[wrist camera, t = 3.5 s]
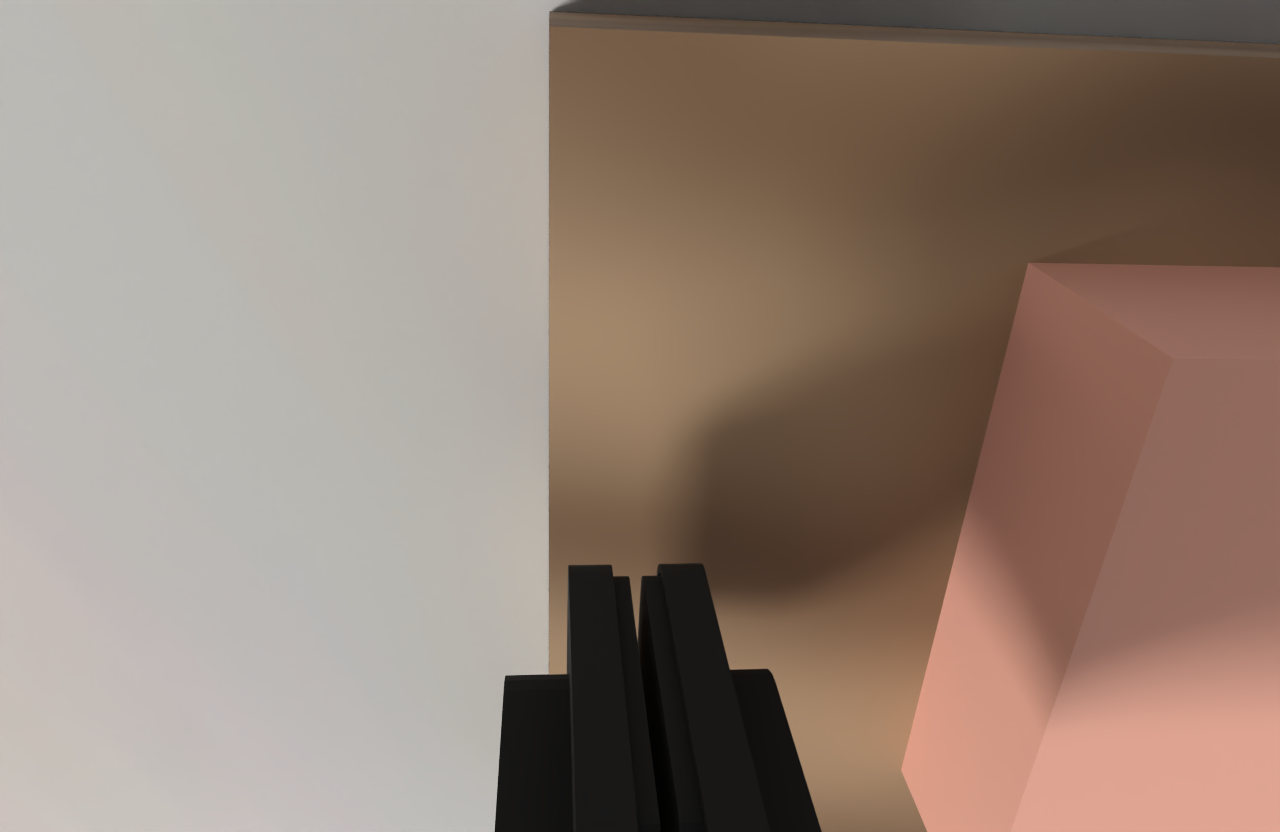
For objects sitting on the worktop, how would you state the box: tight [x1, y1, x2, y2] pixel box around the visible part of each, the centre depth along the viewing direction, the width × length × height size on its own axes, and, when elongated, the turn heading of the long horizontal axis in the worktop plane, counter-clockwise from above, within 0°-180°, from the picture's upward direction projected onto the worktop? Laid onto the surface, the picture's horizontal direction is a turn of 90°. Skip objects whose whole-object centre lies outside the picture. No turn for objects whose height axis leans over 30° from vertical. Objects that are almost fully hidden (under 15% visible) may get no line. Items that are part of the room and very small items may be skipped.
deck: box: [549, 11, 1280, 832], centre depth 15 cm, size 14×18×2 cm
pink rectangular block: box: [901, 263, 1280, 832], centre depth 12 cm, size 9×6×3 cm, turn 178°
